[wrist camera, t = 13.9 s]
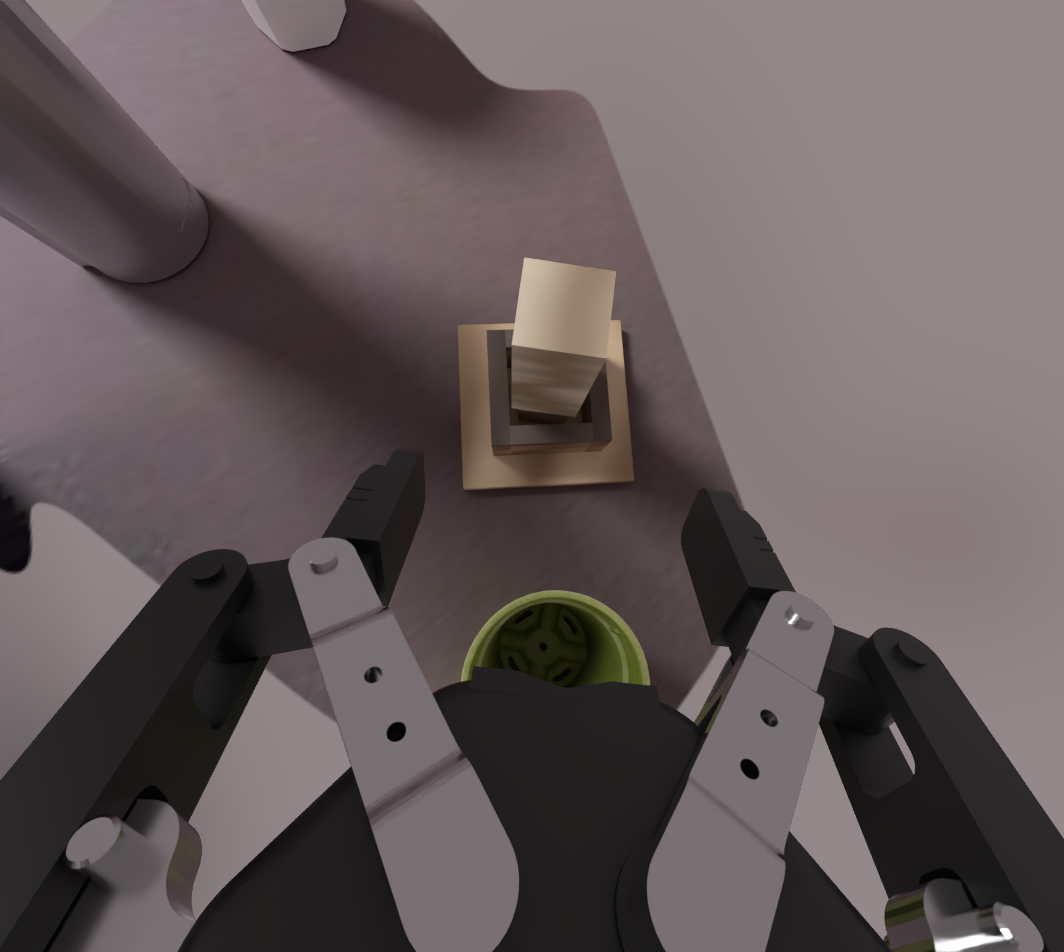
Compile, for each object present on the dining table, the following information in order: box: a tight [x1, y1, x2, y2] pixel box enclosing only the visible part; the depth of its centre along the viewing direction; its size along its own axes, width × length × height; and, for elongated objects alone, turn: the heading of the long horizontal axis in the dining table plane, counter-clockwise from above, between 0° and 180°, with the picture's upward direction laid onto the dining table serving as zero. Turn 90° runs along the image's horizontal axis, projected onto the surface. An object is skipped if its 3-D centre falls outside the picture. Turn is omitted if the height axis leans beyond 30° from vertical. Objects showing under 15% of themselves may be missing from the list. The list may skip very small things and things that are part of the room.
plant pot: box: [461, 590, 650, 688], centre depth 26 cm, size 9×9×9 cm
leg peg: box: [512, 258, 616, 424], centre depth 25 cm, size 4×4×13 cm
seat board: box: [458, 320, 634, 490], centre depth 30 cm, size 12×12×4 cm
